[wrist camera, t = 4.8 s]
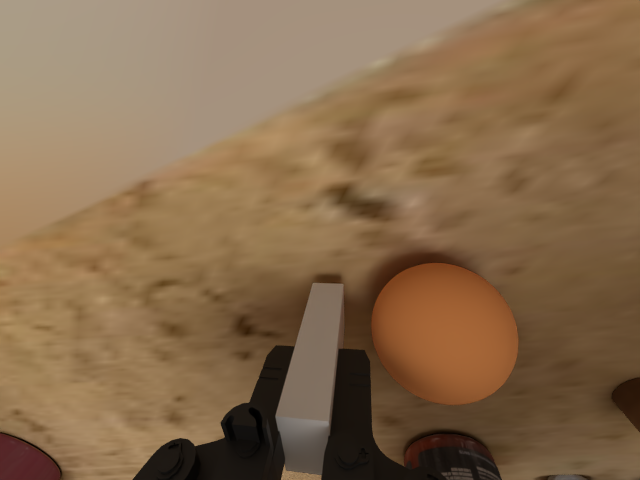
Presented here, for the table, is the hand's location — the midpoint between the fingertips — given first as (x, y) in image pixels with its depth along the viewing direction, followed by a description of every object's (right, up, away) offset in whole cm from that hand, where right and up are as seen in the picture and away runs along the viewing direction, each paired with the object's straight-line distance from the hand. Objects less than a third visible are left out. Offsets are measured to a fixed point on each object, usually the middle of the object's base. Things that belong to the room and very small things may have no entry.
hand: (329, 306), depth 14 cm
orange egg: (+4, 0, -2) cm, 5 cm away
